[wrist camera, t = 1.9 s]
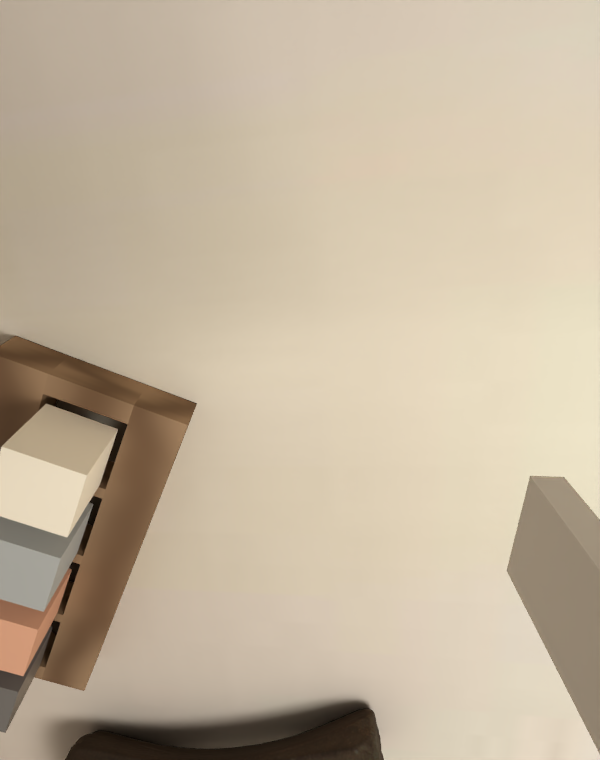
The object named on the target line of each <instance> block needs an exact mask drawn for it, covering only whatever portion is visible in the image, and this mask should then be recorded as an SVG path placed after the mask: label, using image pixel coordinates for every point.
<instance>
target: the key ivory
mask: <svg viewBox="0 0 600 760" xmlns="http://www.w3.org/2000/svg"><path fill="white" fill-rule="evenodd" d="M117 431H118V429H116V428H113V427H110V426H108V425H105V424H102V423H99V422H96V421H94V420H91V419H88V418H85V417H82V416H80V415H77V414H74V413H71V412H69V411H66V410H63V409H60V408H57V407H55V406H52V405H49V404H45V405H44V406H43V407H42V408H41V409H40V410H39V411H38V412H37V413H36V414H35V415H34V416H33V417H32V418H31V419H30V420H29V421H28V422H27V423H25V424H24V425H23V426H22V427H21V428H20V429H19V430H18V431H17V432H16V433H15V434H14V435H13V436H12V437H11V438H10V439H9V440H8V441H7V442H6V443H5V444H4V445H3V446H2V447H1V451H0V516H1V517H4V518H7V519H10V520H13V521H17V522H20V523H23V524H26V525H29V526H32V527H35V528H39V529H42V530H45V531H48V532H51V533H54V534H57V535H60V536H64V537H68V536H69V534H70V532H71V531H72V529H73V528H74V526H75V524H76V523H77V521H78V519H79V518H80V516H81V515H82V513H83V511H84V510H85V508H86V506H87V505H88V503H89V502H90V500H91V498H92V497H93V495H94V493H95V492H96V490H97V489H98V487H99V485H100V483H101V480H102V477H103V474H104V471H105V467H106V464H107V461H108V458H109V455H110V452H111V449H112V446H113V443H114V440H115V437H116V434H117Z"/></svg>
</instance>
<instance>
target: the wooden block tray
mask: <svg viewBox="0 0 600 760" xmlns="http://www.w3.org/2000/svg"><path fill="white" fill-rule="evenodd" d="M57 399H59V400H62V401H64V402H67V403H70V404H73V405H75V406H78V407H81V408H84V409H87V410H89V411H92V412H95V413H98V414H100V415H103V416H106V417H109V418H112V419H114V420H117V421H120V422H123V423H125V424H128V425H127V428H126V430H125V433H124V436H123V439H122V442H121V445H120V448H119V451H118V454H117V457H116V460H115V462H112V461H109V460H108V461H107V464H106V467H105V471H104V474H103V477H102V480H101V483H100V485H99V487H98V489H97V490H96V492H95V493H94V495H93V496H95V497H98V498H101V499H102V502H101V504H100V507H99V510H98V513H97V516H96V519H95V522H94V525H93V526H92V525H89V524H87V525H86V528H85V531H84V534H83V537H82V540H81V543H80V546H79V549H78V552H77V554H76V556H75V558H74V559H73V561H72V562H74V563H77V564H80V567H79V570H78V573H77V576H76V579H75V581H74V582H71V581H68V582H67V585H66V588H65V591H64V594H63V597H62V600H61V603H60V606H59V609H58V613H57V614H56V616H55V618H54V621H57V622H61V623H60V626H59V629H58V632H57V633H54V632H51V634H50V637H49V640H48V643H47V646H46V649H45V652H44V655H43V658H42V661H41V664H40V667H39V668H38V670H37V672H36V674H35V676H34V677H35V678H39V679H43V680H46V681H50V682H54V683H57V684H61V685H65V686H68V687H72V688H76V689H79V690H83V691H84V690H85V687H86V685H87V683H88V680H89V678H90V675H91V673H92V670H93V668H94V665H95V663H96V660H97V658H98V655H99V653H100V650H101V648H102V645H103V643H104V640H105V637H106V635H107V632H108V630H109V627H110V625H111V622H112V619H113V617H114V614H115V612H116V609H117V607H118V604H119V602H120V599H121V596H122V594H123V591H124V589H125V586H126V584H127V581H128V579H129V576H130V573H131V571H132V568H133V566H134V563H135V561H136V558H137V555H138V553H139V550H140V548H141V545H142V543H143V540H144V538H145V535H146V532H147V530H148V527H149V525H150V522H151V520H152V517H153V514H154V512H155V509H156V507H157V504H158V502H159V499H160V497H161V494H162V491H163V489H164V486H165V484H166V481H167V479H168V476H169V474H170V471H171V468H172V466H173V463H174V461H175V458H176V456H177V453H178V450H179V448H180V445H181V443H182V440H183V438H184V435H185V433H186V430H187V427H188V425H189V422H190V420H191V417H192V415H193V412H194V409H195V407H196V403H193V402H191V401H188V400H185V399H183V398H180V397H177V396H175V395H172V394H169V393H167V392H164V391H161V390H159V389H156V388H153V387H151V386H148V385H145V384H143V383H140V382H137V381H135V380H132V379H129V378H127V377H124V376H121V375H119V374H116V373H113V372H111V371H108V370H105V369H103V368H100V367H97V366H95V365H92V364H89V363H87V362H84V361H81V360H79V359H76V358H73V357H71V356H68V355H65V354H63V353H60V352H57V351H55V350H52V349H49V348H47V347H44V346H41V345H39V344H36V343H33V342H31V341H28V340H25V339H23V338H20V337H17V336H15V337H13V338H12V339H10V340H8V341H7V342H5V343H4V344H2V345H0V451H1V447H2V446H3V445H4V444H5V443H6V442H7V441H8V440H9V439H10V438H11V437H12V436H13V435H14V434H15V433H16V432H17V431H18V430H19V429H20V428H21V427H22V426H23V425H24V424H25V423H27V422H28V421H29V420H30V419H31V418H32V417H33V416H34V415H35V414H36V413H37V412H38V411H39V410H40V409H41V408H42V407H43V406H44V405H45V404H49V405H52V406H56V403H57Z"/></svg>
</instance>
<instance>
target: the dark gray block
mask: <svg viewBox="0 0 600 760" xmlns="http://www.w3.org/2000/svg"><path fill="white" fill-rule="evenodd" d="M52 628H53V627H49V629H48V631H47V633H46V635H45V637H44V639H43V641H42V642H41V644H40V646H39V648H38V650H37V652H36V654H35V656H34V657H33V659H32V661H31V663H30V665H29V667H28V669H27V670H26V672H25V674H24V676H20V675H17V674H13V673H9V672H6V671H2V670H0V731H1V732H5V733H6V731H7V729H8V727H9V725H10V723H11V721H12V719H13V717H14V715H15V713H16V711H17V709H18V707H19V705H20V704H21V702H22V700H23V698H24V696H25V694H26V692H27V690H28V688H29V686H30V684H31V682H32V680H33V678H34V676H35V674H36V672H37V670H38V668H39V667H40V664H41V661H42V658H43V655H44V652H45V649H46V646H47V643H48V640H49V637H50V634H51V631H52Z"/></svg>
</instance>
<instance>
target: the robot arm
mask: <svg viewBox="0 0 600 760" xmlns="http://www.w3.org/2000/svg"><path fill="white" fill-rule="evenodd" d="M507 572H508V574H509V576H510V578H511V580H512V582H513V584H514V586H515V588H516V590H517V592H518V594H519V596H520V598H521V600H522V602H523V604H524V606H525V608H526V610H527V612H528V614H529V615H530V617H531V619H532V621H533V623H534V625H535V627H536V629H537V631H538V633H539V635H540V637H541V639H542V641H543V643H544V645H545V647H546V649H547V651H548V653H549V655H550V657H551V659H552V661H553V663H554V665H555V667H556V669H557V671H558V673H559V675H560V677H561V679H562V680H563V682H564V684H565V686H566V688H567V690H568V692H569V694H570V696H571V698H572V700H573V702H574V704H575V706H576V708H577V710H578V712H579V714H580V716H581V718H582V720H583V722H584V724H585V726H586V728H587V730H588V732H589V734H590V736H591V738H592V740H593V742H594V744H595V745H596V747H597V749H598V751H599V753H600V520H599V518H598V517H597V516H596V515H595V514H594V512H593V511H592V510H591V509H590V508H589V506H588V505H587V504H586V503H585V502H584V500H583V499H582V498H581V497H580V496H579V495H578V493H577V492H576V491H575V490H574V489H573V487H572V486H571V485H570V484H569V483H568V481H567V480H566V479H565V478H564V477H546V476H530V479H529V483H528V487H527V491H526V495H525V499H524V503H523V507H522V511H521V515H520V519H519V523H518V527H517V531H516V535H515V539H514V543H513V547H512V551H511V555H510V560H509V564H508V568H507Z"/></svg>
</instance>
